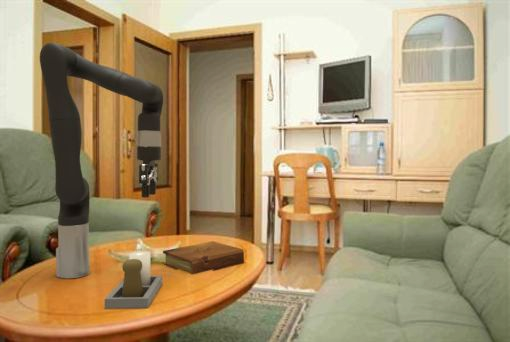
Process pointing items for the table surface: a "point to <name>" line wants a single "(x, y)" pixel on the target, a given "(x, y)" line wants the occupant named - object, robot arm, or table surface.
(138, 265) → the cork
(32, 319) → the table surface
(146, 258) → the cylinder
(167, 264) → the diary
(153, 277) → the tray
